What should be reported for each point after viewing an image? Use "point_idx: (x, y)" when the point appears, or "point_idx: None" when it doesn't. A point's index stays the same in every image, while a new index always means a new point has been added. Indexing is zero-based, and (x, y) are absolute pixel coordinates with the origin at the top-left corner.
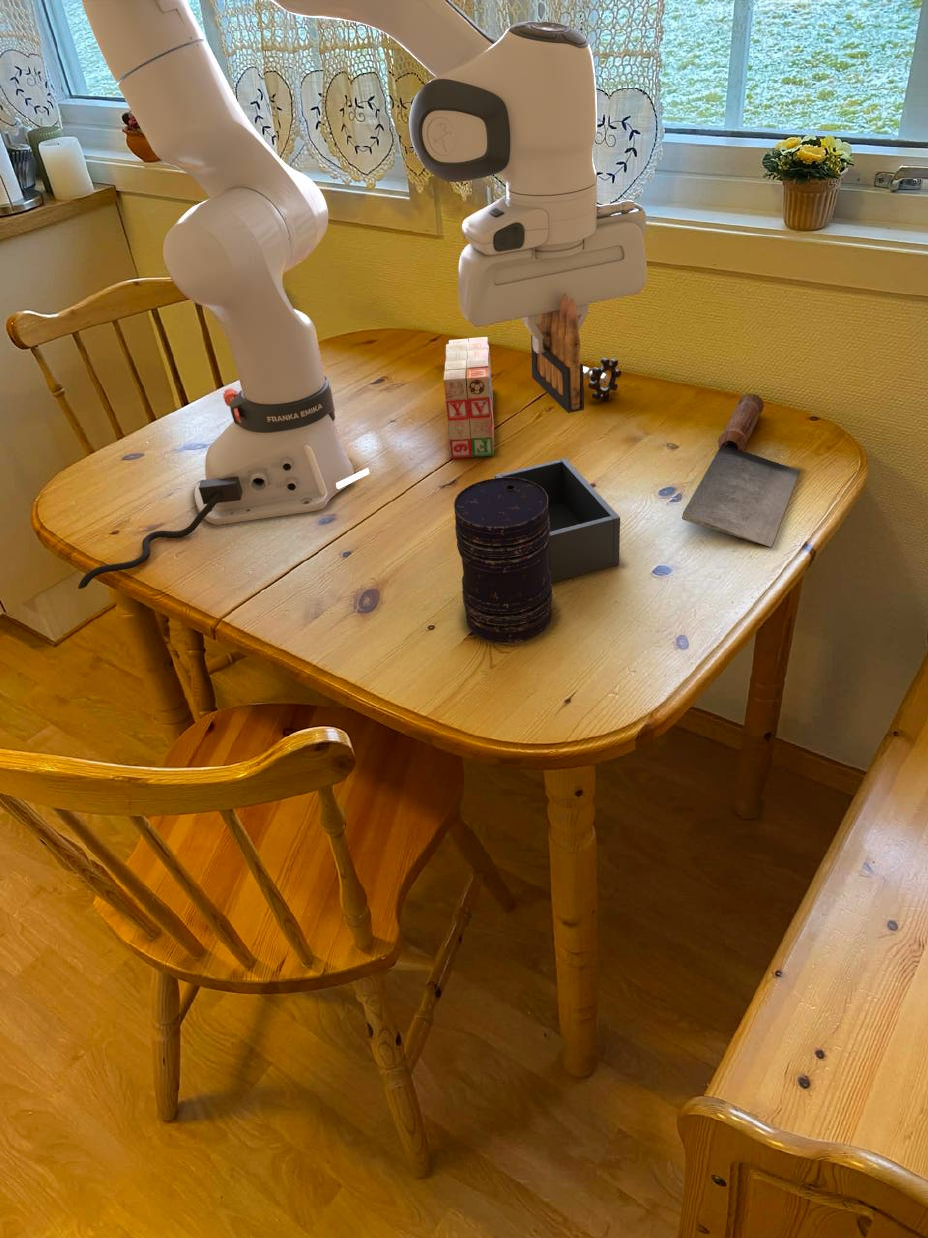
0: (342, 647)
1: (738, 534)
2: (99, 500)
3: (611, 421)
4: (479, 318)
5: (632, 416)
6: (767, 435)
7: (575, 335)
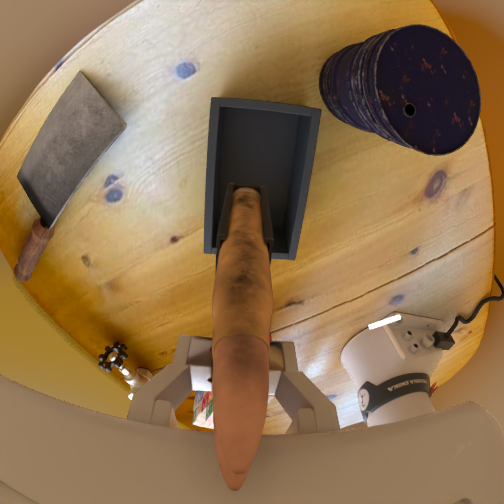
0: (469, 145)
1: (93, 88)
2: (454, 360)
3: (121, 317)
4: (482, 415)
5: (103, 314)
6: (22, 236)
7: (241, 307)
